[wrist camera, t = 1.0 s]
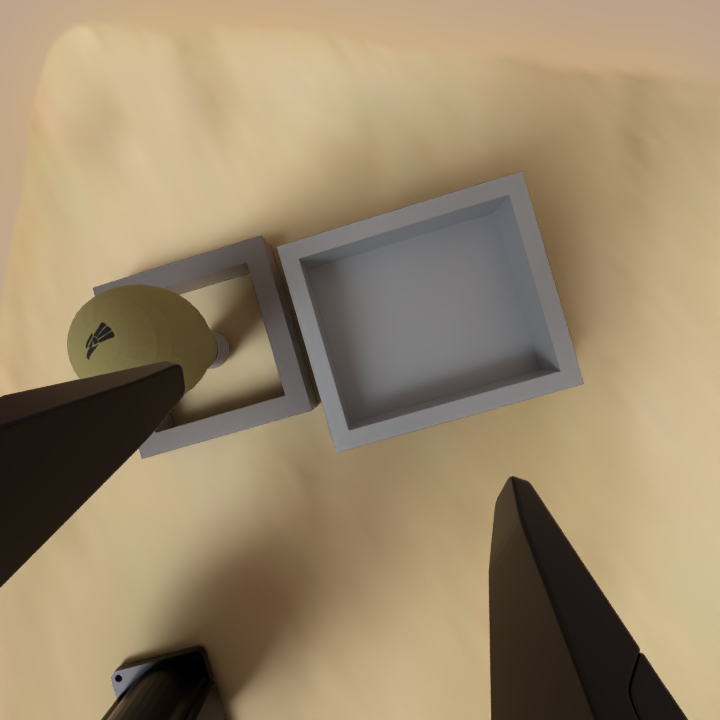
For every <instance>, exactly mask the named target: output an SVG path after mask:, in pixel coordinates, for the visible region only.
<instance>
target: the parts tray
mask: <svg viewBox="0 0 720 720" xmlns="http://www.w3.org/2000/svg"><path fill="white" fill-rule="evenodd" d="M277 249H278V253H279V256H280V260H281V263H282V267H283V270H284V274H285V277H286V280H287V284H288V287H289V291H290V294H291V298H292V301H293V305H294V308H295V312H296V315H297V318H298V322H299V325H300V329H301V332H302V336H303V339H304V343H305V346H306V350H307V353H308V357H309V360H310V363H311V367H312V370H313V374H314V377H315V381H316V384H317V388H318V391H319V395H320V398H321V401H322V405H323V408H324V412H325V415H326V419H327V422H328V426H329V429H330V433H331V436H332V439H333V443H334V446H335V450H336V453H337V452H341V451H345V450H348V449H352V448H355V447H359V446H363V445H366V444H370V443H373V442H377V441H381V440H384V439H388V438H391V437H395V436H399V435H402V434H406V433H409V432H413V431H417V430H420V429H424V428H427V427H431V426H435V425H438V424H442V423H445V422H449V421H453V420H456V419H460V418H463V417H467V416H470V415H474V414H478V413H481V412H485V411H488V410H492V409H496V408H499V407H503V406H506V405H510V404H514V403H517V402H521V401H524V400H528V399H532V398H535V397H539V396H542V395H546V394H550V393H553V392H557V391H560V390H564V389H568V388H571V387H575V386H578V385H582V384H584V382H583V378H582V375H581V372H580V368H579V365H578V361H577V358H576V354H575V351H574V348H573V344H572V341H571V337H570V334H569V330H568V327H567V324H566V320H565V317H564V313H563V310H562V306H561V303H560V300H559V296H558V293H557V289H556V286H555V282H554V279H553V276H552V272H551V269H550V265H549V262H548V258H547V255H546V252H545V248H544V245H543V241H542V238H541V234H540V231H539V227H538V224H537V221H536V217H535V214H534V210H533V207H532V203H531V200H530V197H529V193H528V190H527V186H526V183H525V179H524V176H523V173H522V171H520V172H517V173H514V174H511V175H507V176H504V177H501V178H498V179H494V180H491V181H488V182H485V183H481V184H478V185H475V186H472V187H469V188H465V189H462V190H459V191H456V192H452V193H449V194H446V195H443V196H439V197H436V198H433V199H430V200H426V201H423V202H420V203H417V204H413V205H410V206H407V207H404V208H400V209H397V210H394V211H391V212H388V213H384V214H381V215H378V216H375V217H371V218H368V219H365V220H362V221H358V222H355V223H352V224H349V225H345V226H342V227H339V228H336V229H332V230H329V231H326V232H323V233H319V234H316V235H313V236H310V237H307V238H303V239H300V240H297V241H294V242H290V243H287V244H284V245H281V246H277Z"/></svg>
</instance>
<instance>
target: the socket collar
mask: <svg viewBox="0 0 720 720" xmlns="http://www.w3.org/2000/svg"><path fill="white" fill-rule="evenodd" d="M248 273H250V275H251V279H252V282H253V286H254V289H255V293H256V296H257V300H258V303H259V306H260V310H261V313H262V317H263V320H264V324H265V327H266V331H267V334H268V338H269V341H270V345H271V348H272V351H273V355H274V358H275V362H276V365H277V369H278V372H279V376H280V379H281V383H282V386H283V390H284V393H285V395H282V396H279V397H275V398H272V399H268V400H265V401H261V402H258V403H254V404H251V405H247V406H244V407H240V408H237V409H233V410H230V411H227V412H223V413H220V414H216V415H213V416H209V417H206V418H202V419H199V420H195V421H192V422H188V423H185V424H181V425H178V426H174V424H173V420H172V417H171V413H169V414H168V415H167V416H166V418H165V419H164V420H163V421H162V423H161V424H160V425H159V426H158V427H157V429H156V430H155V431H154V432H153V433H152V435H151V436H150V437H149V438H148V439H147V440H146V441H145V442H144V443H143V444H142V445H141V446H140V447H139V451H140V454H141V458H142V459H143V458H147V457H150V456H154V455H157V454H161V453H164V452H168V451H171V450H175V449H178V448H182V447H185V446H189V445H192V444H196V443H200V442H203V441H207V440H210V439H214V438H217V437H221V436H224V435H228V434H231V433H235V432H238V431H242V430H245V429H249V428H252V427H256V426H259V425H263V424H266V423H270V422H273V421H277V420H280V419H284V418H287V417H291V416H294V415H298V414H301V413H305V412H308V411H312V410H313V409H314V408H315V407H317V403H316V400H315V396H314V393H313V389H312V386H311V382H310V379H309V376H308V372H307V369H306V365H305V362H304V358H303V355H302V351H301V348H300V344H299V341H298V337H297V334H296V331H295V327H294V324H293V320H292V317H291V313H290V310H289V306H288V303H287V299H286V296H285V293H284V289H283V286H282V282H281V279H280V275H279V272H278V268H277V265H276V261H275V258H274V255H273V251H272V248H271V245H270V244H269V243H268V242H267V241H266V240H265V239H264V238H263V237H262V236H258V237H255V238H251V239H248V240H245V241H242V242H239V243H235V244H232V245H229V246H226V247H222V248H219V249H216V250H213V251H210V252H206V253H203V254H200V255H197V256H194V257H190V258H187V259H184V260H181V261H177V262H174V263H171V264H168V265H165V266H161V267H158V268H155V269H152V270H149V271H145V272H142V273H139V274H136V275H132V276H129V277H126V278H123V279H120V280H116V281H113V282H110V283H107V284H103V285H100V286H97V287H94V288H93V291H94V294H95V296H97V295H98V294H100V293H102V292H104V291H106V290H109V289H112V288H116V287H120V286H124V285H139V284H142V285H150V286H157V287H161V288H163V289H166V290H169V291H172V292H174V293H176V294H178V295H179V294H183V293H186V292H189V291H193V290H196V289H199V288H202V287H206V286H209V285H212V284H215V283H219V282H222V281H225V280H228V279H232V278H235V277H238V276H242V275H245V274H248Z"/></svg>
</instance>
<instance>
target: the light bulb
mask: <svg viewBox="0 0 720 720" xmlns="http://www.w3.org/2000/svg"><path fill="white" fill-rule="evenodd" d="M67 348H68V355H69V359H70V362H71V365H72V367H73V369H74V371H75V373H76V374H77V376H78V377H79V378H80V379H83V378H88V377H92V376H97V375H102V374H106V373H111V372H116V371H120V370H125V369H130V368H134V367H139V366H144V365H148V364H153V363H158V362H162V361H171V362H174V363H177V364H179V365H181V367H182V368H183V374H184V381H185V393H186V392H188V391H189V390H190V389H192V388H193V387H194V386H195V385H196V384H197V383H198V382H199V381H200V380H201V378H202V377H203V375H204V374H205V372H206V371H207V369H212V368H216V367H219V366H221V365H222V364H223V363H224V362H225V361H226V359H227V358H228V355H229V344H228V342H227V340H226V338H225V337H224V336H223V335H222V334H220V333H218V332H215V331H211V330H210V329H209V327H208V325H207V323H206V321H205V319H204V318H203V317H202V315H201V314H200V312H199V311H198V310H197V309H196V308H195V307H194V306H193V305H192V304H191V303H190V302H188V301H187V300H186V299H184V298H183V297H181V296H179V295H178V294H176V293H174V292H172V291H169V290H166V289H163V288H161V287H157V286H150V285H142V284H139V285H124V286H120V287H116V288H112V289H109V290H106V291H104V292H102V293H100V294H98V295H97V296H95V297H94V298H92V299H91V300H90V301H88V302H87V303H86V304H85V305H84V306H83V307H82V308H81V309H80V310H79V311H78V313H77V314H76V316H75V318H74V319H73V321H72V324H71V326H70V330H69V333H68V340H67ZM185 393H184V394H185Z"/></svg>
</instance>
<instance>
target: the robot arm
mask: <svg viewBox="0 0 720 720" xmlns="http://www.w3.org/2000/svg"><path fill="white" fill-rule="evenodd" d="M184 393H185V381H184V374H183V368H182V367H181V365H179V364H177V363H174V362H171V361H162V362H158V363H153V364H148V365H144V366H139V367H134V368H130V369H125V370H120V371H116V372H111V373H106V374H102V375H97V376H92V377H88V378H83V379H78V380H74V381H69V382H65V383H60V384H55V385H51V386H46V387H41V388H37V389H32V390H27V391H23V392H18V393H13V394H9V395H4V396H2V397H0V587H1V586H2V585H3V584H4V583H5V582H6V581H7V580H8V579H9V578H10V577H11V576H12V575H13V574H14V573H15V572H16V571H17V570H18V569H19V568H20V567H21V566H22V565H23V564H24V563H25V562H26V561H27V560H28V559H29V558H30V557H31V556H32V555H33V554H34V553H35V552H36V551H37V550H38V549H39V548H40V547H41V546H42V545H43V544H44V543H45V542H46V541H47V540H48V539H49V538H50V537H51V536H52V535H53V534H54V533H55V532H56V531H57V530H58V529H59V528H60V527H61V526H62V525H63V524H64V523H65V522H66V521H67V520H68V519H69V518H70V517H71V516H72V515H73V514H74V513H75V512H76V511H77V510H78V509H79V508H80V507H81V506H82V505H83V504H84V503H85V502H86V501H87V500H88V499H89V498H90V497H91V496H92V495H93V494H94V493H95V492H96V491H97V490H98V489H99V488H100V487H101V486H102V485H103V484H104V483H105V482H106V481H107V480H108V479H109V478H110V477H111V476H112V475H113V474H114V473H115V472H116V471H117V470H118V469H119V468H120V467H121V466H122V465H123V464H124V463H125V462H126V461H127V460H128V459H129V458H130V457H131V455H132V454H133V453H134V452H135V451H136V450H137V449H138V448H139V447H140V446H141V445H142V444H143V443H144V442H145V441H146V440H147V439H148V438H149V437H150V436H151V435H152V433H153V432H154V431H155V430H156V429H157V427H158V426H159V425H160V424H161V423H162V421H163V420H164V419H165V418H166V416H167V415H168V414H169V413H170V412H171V410H172V409H173V408H174V407H175V405H176V404H177V403H178V402H179V401H180V399H181V398H182V397H183V395H184ZM489 620H490V678H491V720H688V719H687V717H686V716H685V714H684V713H683V711H682V710H681V709H680V707H679V706H678V704H677V703H676V701H675V700H674V698H673V697H672V695H671V694H670V692H669V691H668V690H667V688H666V687H665V685H664V684H663V682H662V681H661V679H660V678H659V676H658V675H657V673H656V672H655V670H654V669H653V667H652V666H651V664H650V663H649V661H648V660H647V658H646V657H645V655H644V654H643V653H639V652H640V648H639V646H638V645H637V643H636V642H635V640H634V639H633V637H632V636H631V634H630V633H629V631H628V630H627V628H626V627H625V625H624V624H623V622H622V621H621V619H620V618H619V616H618V615H617V613H616V612H615V610H614V609H613V607H612V606H611V604H610V603H609V601H608V600H607V598H606V597H605V595H604V593H603V592H602V590H601V589H600V587H599V586H598V584H597V583H596V581H595V580H594V578H593V577H592V575H591V574H590V572H589V571H588V569H587V568H586V566H585V565H584V563H583V562H582V560H581V559H580V557H579V556H578V554H577V553H576V551H575V550H574V548H573V547H572V545H571V544H570V542H569V541H568V539H567V538H566V536H565V535H564V533H563V532H562V530H561V529H560V527H559V526H558V524H557V522H556V521H555V519H554V518H553V516H552V515H551V513H550V512H549V510H548V509H547V507H546V506H545V504H544V503H543V501H542V500H541V498H540V497H539V495H538V494H537V492H536V491H535V489H534V488H533V486H532V485H531V483H530V482H528V481H526V480H523V479H520V478H517V477H514V476H511V477H510V478H509V479H508V480H507V482H506V483H505V485H504V487H503V489H502V491H501V492H500V494H499V496H498V498H497V501H496V505H495V512H494V522H493V532H492V542H491V552H490V563H489ZM196 655H198V656H199V657H197V656H196ZM120 675H121V676H120ZM111 679H112V683H113V687H114V690H115V694H116V697H117V700H116V701H115V702H114V704H113V705H112V706H111V708H110V709H109V710H108V712H107V713H106V714H105V716H104V717H103V718H102V720H226V719H225V713H224V709H223V706H222V703H221V699H220V696H219V692H218V689H217V685H216V682H215V680H214V677H213V673H212V670H211V666H210V663H209V660H208V656H207V653H206V650H205V649H204V648H203V647H201V646H197V647H193V648H189V649H185V650H181V651H177V652H173V653H169V654H165V655H162V656H158V657H154V658H150V659H146V660H142V661H138V662H134V663H130V664H126V665H123V666H120V667H118V668H117V669H116V671H115V672H114V673H113V674H112V677H111Z"/></svg>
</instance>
